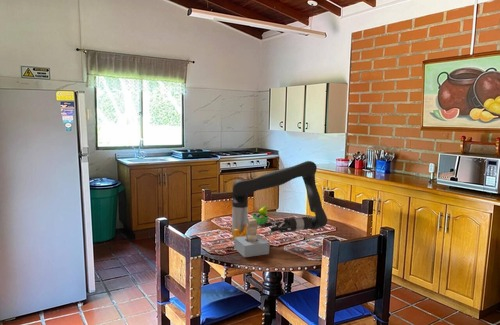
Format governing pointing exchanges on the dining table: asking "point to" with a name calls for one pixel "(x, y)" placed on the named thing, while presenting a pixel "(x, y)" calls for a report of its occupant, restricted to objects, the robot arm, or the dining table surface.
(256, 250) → the grey square socket block
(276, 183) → the robot arm
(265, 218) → the fruit basket
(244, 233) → the pipe clamp
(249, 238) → the wooden bar
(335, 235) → the dining table surface
